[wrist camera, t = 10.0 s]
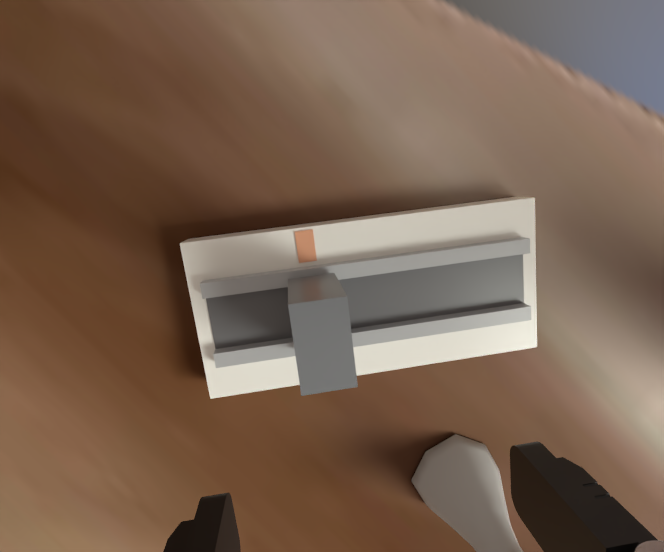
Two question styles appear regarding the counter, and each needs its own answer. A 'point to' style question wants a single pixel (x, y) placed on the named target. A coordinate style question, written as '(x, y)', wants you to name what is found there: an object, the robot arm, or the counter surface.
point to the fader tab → (321, 334)
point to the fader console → (368, 289)
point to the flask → (467, 493)
